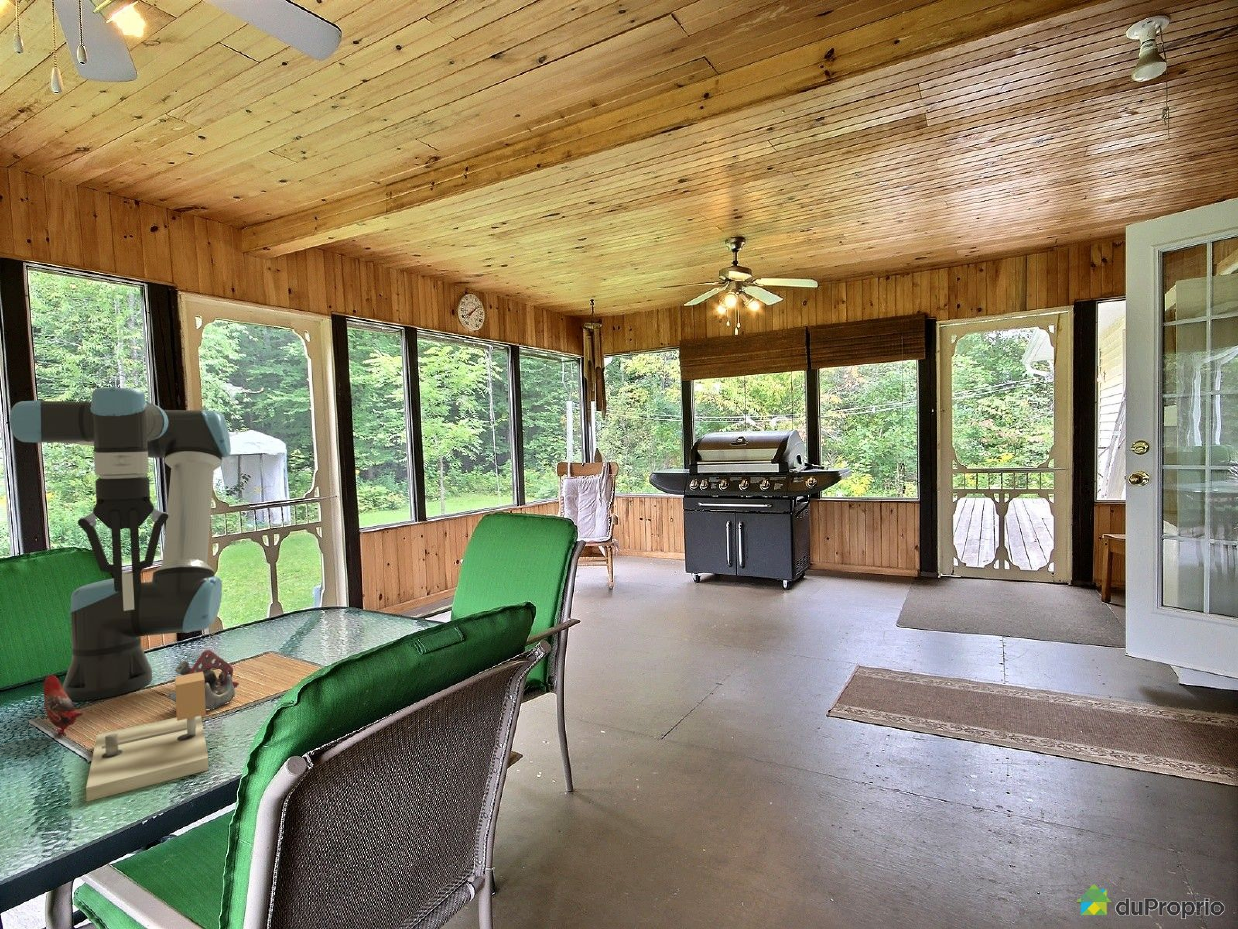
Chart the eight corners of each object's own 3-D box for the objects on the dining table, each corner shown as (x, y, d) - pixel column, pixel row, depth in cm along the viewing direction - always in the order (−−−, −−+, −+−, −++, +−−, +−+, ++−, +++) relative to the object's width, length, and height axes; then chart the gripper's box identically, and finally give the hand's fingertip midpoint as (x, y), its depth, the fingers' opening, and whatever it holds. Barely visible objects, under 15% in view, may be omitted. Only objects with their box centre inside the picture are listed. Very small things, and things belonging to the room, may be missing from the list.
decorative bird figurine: (57, 723, 121) (56, 670, 121) (94, 746, 111) (92, 689, 111) (37, 729, 118) (35, 675, 118) (72, 753, 109) (70, 694, 108)
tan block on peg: (177, 731, 111) (175, 676, 111) (204, 725, 113) (202, 671, 113) (177, 741, 107) (175, 685, 106) (206, 735, 109) (204, 679, 109)
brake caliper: (207, 707, 121) (177, 653, 124) (174, 736, 124) (145, 683, 126) (258, 685, 132) (229, 637, 134) (226, 712, 135) (199, 664, 137)
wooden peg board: (97, 745, 111) (96, 717, 111) (200, 723, 120) (199, 696, 120) (86, 801, 93) (85, 767, 93) (208, 770, 102) (207, 739, 102)
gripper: (72, 479, 106) (79, 620, 107) (168, 475, 114) (174, 606, 115) (75, 476, 112) (82, 610, 113) (166, 473, 120) (172, 598, 121)
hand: (128, 608), depth 114 cm, fingers closed
